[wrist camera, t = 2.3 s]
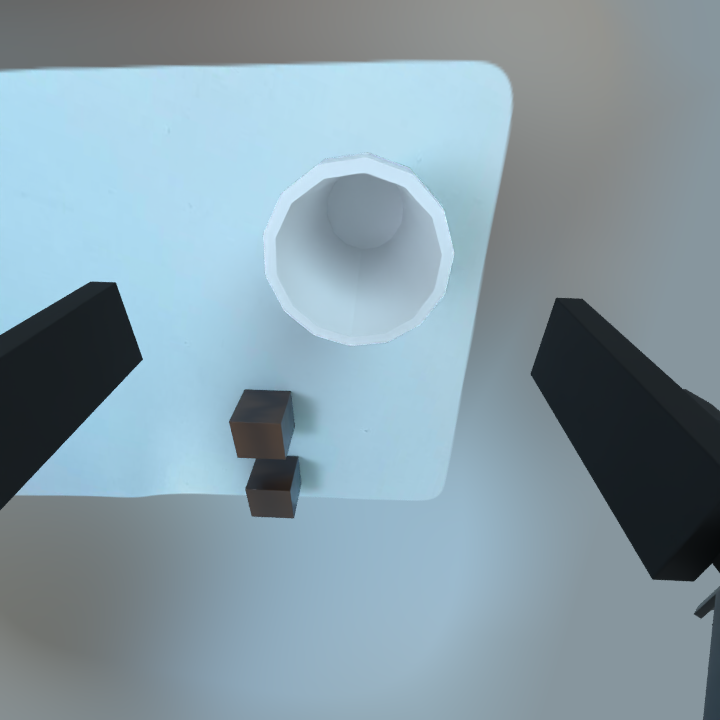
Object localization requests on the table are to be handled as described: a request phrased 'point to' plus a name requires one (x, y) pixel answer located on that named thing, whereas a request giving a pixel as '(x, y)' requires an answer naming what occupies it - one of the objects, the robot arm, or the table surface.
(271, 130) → the table surface
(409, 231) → the foam cup
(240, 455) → the walnut block near
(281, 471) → the walnut block far
